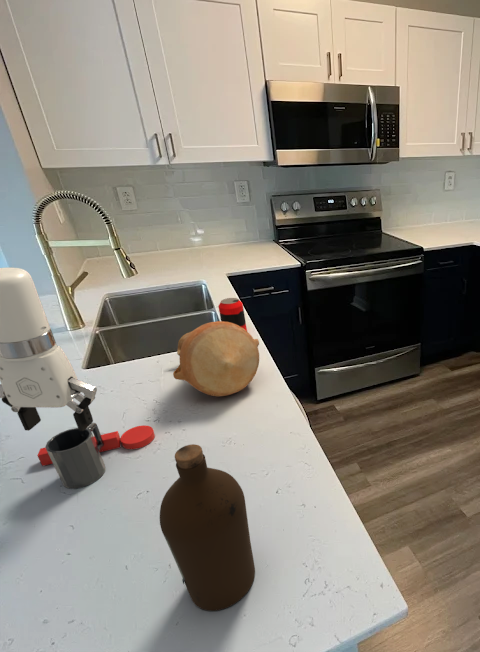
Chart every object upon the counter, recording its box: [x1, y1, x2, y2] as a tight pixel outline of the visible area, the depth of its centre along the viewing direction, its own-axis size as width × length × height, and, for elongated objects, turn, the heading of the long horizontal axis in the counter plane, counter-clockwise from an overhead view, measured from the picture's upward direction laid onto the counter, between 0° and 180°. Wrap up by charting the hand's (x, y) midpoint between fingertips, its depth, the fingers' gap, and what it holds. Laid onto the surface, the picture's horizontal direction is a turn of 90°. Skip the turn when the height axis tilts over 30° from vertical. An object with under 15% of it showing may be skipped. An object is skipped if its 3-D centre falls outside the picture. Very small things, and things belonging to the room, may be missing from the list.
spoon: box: [36, 424, 156, 467], centre depth 89 cm, size 21×6×3 cm, turn 114°
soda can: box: [218, 297, 248, 332], centre depth 139 cm, size 8×8×12 cm
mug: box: [44, 422, 107, 490], centre depth 83 cm, size 11×7×9 cm, turn 0°
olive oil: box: [159, 443, 256, 612], centre depth 58 cm, size 11×11×25 cm
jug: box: [172, 320, 260, 397], centre depth 112 cm, size 20×19×30 cm
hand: (60, 426), depth 77 cm, fingers open, 9 cm apart
